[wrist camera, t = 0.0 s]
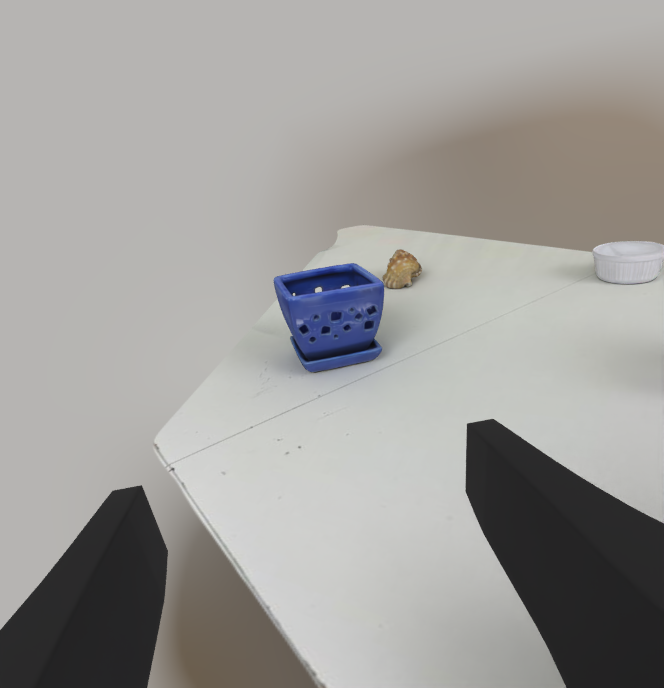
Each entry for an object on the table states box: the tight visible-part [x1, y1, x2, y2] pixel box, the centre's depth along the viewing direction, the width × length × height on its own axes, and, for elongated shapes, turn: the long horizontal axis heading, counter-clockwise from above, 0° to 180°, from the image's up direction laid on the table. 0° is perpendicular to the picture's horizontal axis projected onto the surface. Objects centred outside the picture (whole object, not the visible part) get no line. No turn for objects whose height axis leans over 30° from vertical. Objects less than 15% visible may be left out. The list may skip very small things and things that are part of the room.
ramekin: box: [592, 241, 664, 284], centre depth 87 cm, size 11×11×5 cm
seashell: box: [383, 250, 422, 289], centre depth 102 cm, size 9×8×10 cm
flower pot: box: [274, 263, 384, 372], centre depth 70 cm, size 13×13×12 cm
